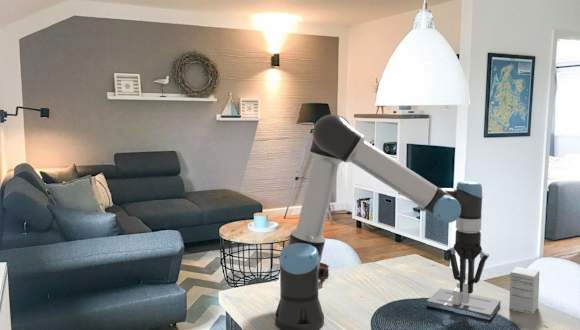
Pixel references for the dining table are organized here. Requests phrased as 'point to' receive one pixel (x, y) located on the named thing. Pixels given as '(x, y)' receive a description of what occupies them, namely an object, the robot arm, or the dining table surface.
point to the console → (474, 305)
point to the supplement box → (524, 290)
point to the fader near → (457, 296)
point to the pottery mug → (323, 272)
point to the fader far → (459, 286)
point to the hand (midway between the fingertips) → (465, 301)
